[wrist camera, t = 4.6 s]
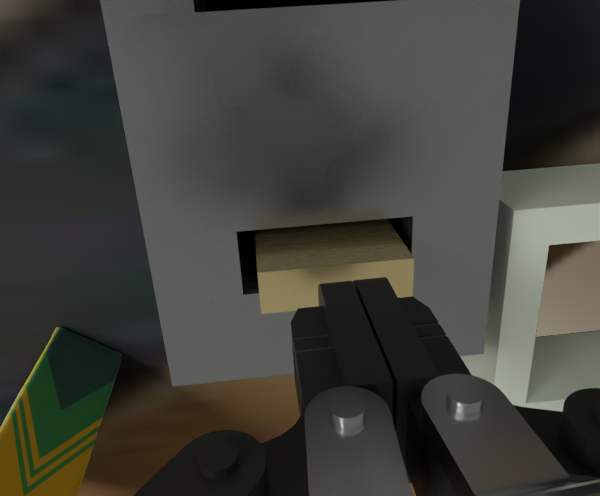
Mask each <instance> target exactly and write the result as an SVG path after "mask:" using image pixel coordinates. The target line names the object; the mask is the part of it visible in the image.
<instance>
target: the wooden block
mask: <svg viewBox="0 0 600 496" xmlns="http://www.w3.org/2000/svg"><path fill="white" fill-rule="evenodd" d="M255 242H256V260H257V275H258V286H259V296H260V306H261V314H268V313H278V312H289V311H297V309H298V308H306V307H316V306H319V301H318V285H319V284H323V283H333V282H343V281H352V282H353V280H361V279H371V278H381V277H386V278H387V279H388V280H389V282H390V284H391V286H392V288H393V290H394V292H395V293H396V295H397V297H398V298H402V297H412V296H413V280H414V257H413V256H412V254H411V253H410V251H409V250H408V248H407V247H406V246H405V244H404V243H403V241H402V240H401V238H400V237H399V235H398V234H397V232H396V231H395V230H394V228H393V227H392V225H391V224H390V222H389V221H388V219H377V220H365V221H354V222H342V223H331V224H319V225H308V226H296V227H285V228H273V229H261V230H255Z"/></svg>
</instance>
